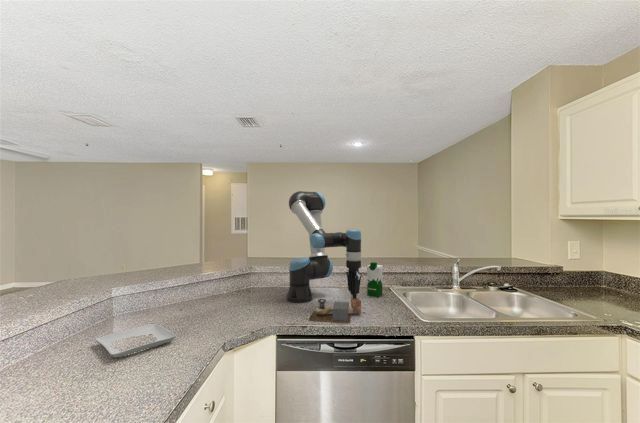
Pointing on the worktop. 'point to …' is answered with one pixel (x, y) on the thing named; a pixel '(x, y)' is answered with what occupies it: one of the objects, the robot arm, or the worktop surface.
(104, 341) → the salad plate
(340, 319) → the keeper
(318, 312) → the link
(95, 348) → the worktop surface
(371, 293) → the milk carton
